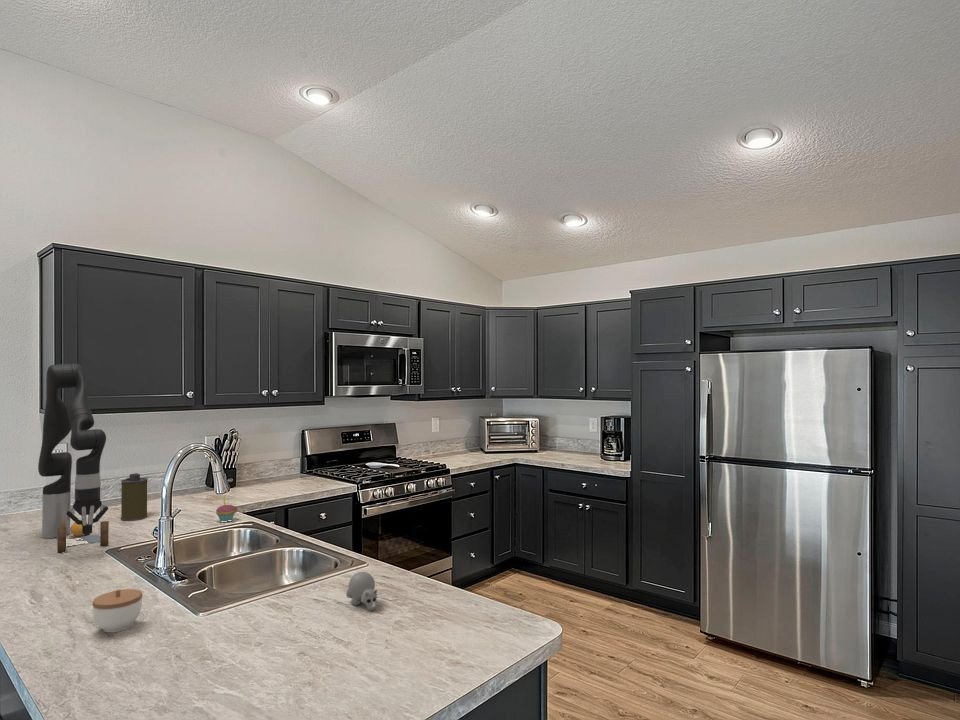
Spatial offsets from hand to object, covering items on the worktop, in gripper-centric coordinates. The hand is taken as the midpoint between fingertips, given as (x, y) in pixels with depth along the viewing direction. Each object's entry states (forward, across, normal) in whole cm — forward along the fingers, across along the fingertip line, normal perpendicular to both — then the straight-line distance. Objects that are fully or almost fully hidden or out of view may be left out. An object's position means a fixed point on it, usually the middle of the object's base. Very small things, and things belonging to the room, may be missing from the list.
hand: (87, 535), depth 206 cm
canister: (+9, -22, -55) cm, 60 cm away
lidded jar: (+7, -1, +76) cm, 76 cm away
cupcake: (+8, -53, -22) cm, 58 cm away
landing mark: (+8, 0, -26) cm, 27 cm away
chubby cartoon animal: (+6, -56, +103) cm, 117 cm away
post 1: (+8, +7, -12) cm, 16 cm away
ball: (+5, 0, -35) cm, 36 cm away
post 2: (+8, -6, -12) cm, 16 cm away
